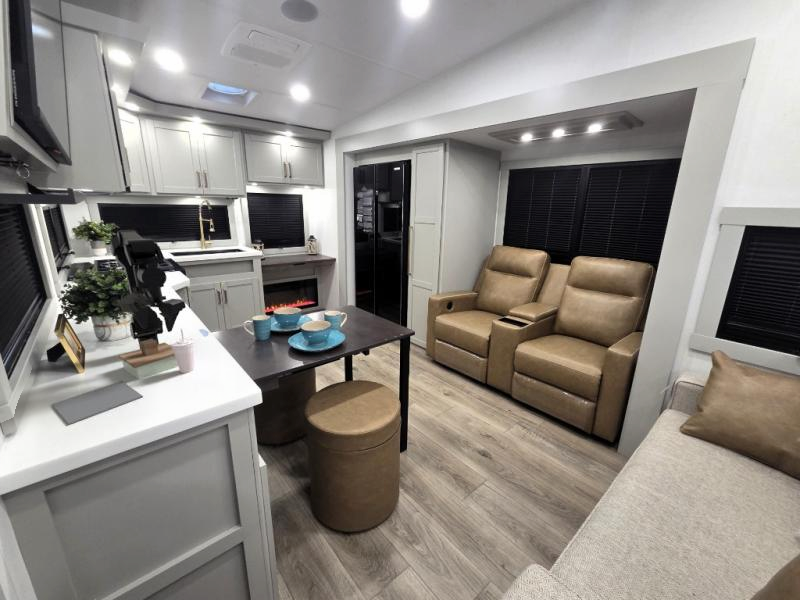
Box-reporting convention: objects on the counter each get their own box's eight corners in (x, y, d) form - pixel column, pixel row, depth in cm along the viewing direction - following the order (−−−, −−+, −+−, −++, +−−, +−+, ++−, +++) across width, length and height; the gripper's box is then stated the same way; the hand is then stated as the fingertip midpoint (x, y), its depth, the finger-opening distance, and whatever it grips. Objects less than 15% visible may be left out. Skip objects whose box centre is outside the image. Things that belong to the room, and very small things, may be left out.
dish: (124, 370, 108) (121, 357, 107) (166, 357, 118) (163, 345, 117) (139, 380, 102) (136, 367, 100) (182, 366, 111) (180, 353, 110)
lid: (118, 357, 107) (115, 343, 106) (165, 344, 117) (162, 331, 116) (134, 368, 100) (131, 353, 99) (182, 353, 110) (179, 339, 109)
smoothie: (188, 376, 104) (180, 333, 100) (170, 374, 105) (162, 331, 101) (203, 366, 110) (196, 326, 106) (186, 365, 111) (179, 324, 107)
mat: (52, 405, 88) (51, 404, 88) (122, 382, 100) (121, 380, 100) (68, 425, 80) (68, 423, 80) (143, 397, 92) (142, 395, 92)
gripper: (94, 285, 95) (106, 337, 100) (150, 290, 92) (160, 343, 96) (131, 277, 106) (141, 324, 110) (182, 281, 103) (190, 329, 107)
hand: (157, 330), depth 106 cm, fingers open, 9 cm apart
